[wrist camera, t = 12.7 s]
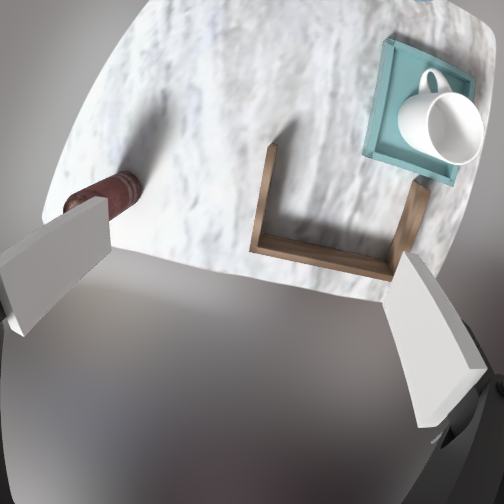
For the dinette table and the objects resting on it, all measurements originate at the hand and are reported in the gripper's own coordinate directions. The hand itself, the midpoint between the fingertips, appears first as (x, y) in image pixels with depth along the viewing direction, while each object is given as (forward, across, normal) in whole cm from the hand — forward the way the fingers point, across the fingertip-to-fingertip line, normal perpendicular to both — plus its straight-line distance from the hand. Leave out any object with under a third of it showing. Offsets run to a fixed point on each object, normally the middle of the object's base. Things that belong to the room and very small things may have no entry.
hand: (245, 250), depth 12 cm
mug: (+31, +19, +11) cm, 38 cm away
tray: (+31, +19, +11) cm, 38 cm away
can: (+32, -24, -9) cm, 41 cm away
